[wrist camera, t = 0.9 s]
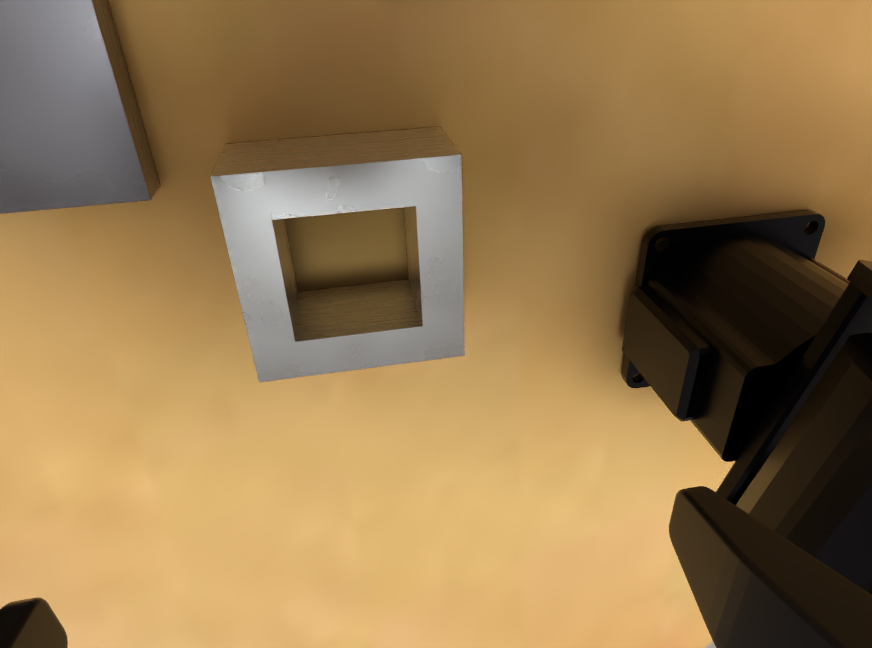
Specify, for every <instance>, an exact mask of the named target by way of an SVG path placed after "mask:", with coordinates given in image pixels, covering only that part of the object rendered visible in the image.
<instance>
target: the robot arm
mask: <svg viewBox="0 0 872 648" xmlns="http://www.w3.org/2000/svg"><path fill="white" fill-rule="evenodd" d="M809 222H810V224H809V226H808V227H807V228H806V229H805V227H806V225H807V224H808V223H809ZM824 227H825V219H824V217H823V216H822V215H820V214H818V213H816V212H814V211H812V210H803V211H794V212H784V213H775V214H766V215H756V216H747V217H737V218H728V219H719V220H709V221H700V222H691V223H681V224H672V225H662V226H656V227H653V228H652V229H650V230H649V231H647V233H646V234H645V235H644V238H643V240H642V246H641V252H640V259H639V265H638V272H637V278H636V285H635V287H634V289H633V290H632V292H631V294H630V300H629V307H628V314H627V320H626V327H625V333H624V340H623V347H622V350H623V352H624V353H625V356H624V362H623V369H622V378H623V379H624V381H625V382H626V383H627V385H628V386H629V387H631V388H641V387H648V386H651V387H652V388H653V390H654V391H655V392H656V393H657V395H658V396H659V397H660V398H661V400H662V401H663V402H664V403H665V405H666V406H667V407H668V409H669V410H670V411H671V412H672V414H673V415H674V416H675V417H676V418H678V419H679V420H680V421H681V422H682V421H688V420H691V422H692V423H693V424H694V425H695V427H696V428H697V429H698V430H699V431H700V433H701V434H702V435H703V436H704V437H705V439H706V440H707V441H708V442H709V444H710V445H711V446H712V447H713V448H714V450H715V451H716V452H717V453H718V455H719V456H720V457H721V458H722V459H723V460H724V461H727V462H730V461H735V463H734V464H733V466H732V467H731V469H730V471H729V472H728V474H727V475H726V477H725V478H724V480H723V482H722V483H721V485H720V486H719V488H718V489H717V491H716V492H714V491H713V490H711V489H709V488H707V487H704V486H699V487H693V488H687V489H682V490H680V491H679V492H678V493H677V494H676V497H675V501H674V506H673V510H672V515H671V519H670V524H669V534H670V538H671V542H672V544H673V547H674V549H675V552H676V554H677V556H678V559H679V561H680V564H681V566H682V568H683V571H684V573H685V576H686V578H687V581H688V583H689V585H690V588H691V590H692V593H693V595H694V597H695V600H696V602H697V605H698V607H699V609H700V612H701V614H702V617H703V619H704V621H705V624H706V626H707V628H708V631H709V633H710V635H711V637H712V640H713V642H714V644H715V646H716V648H872V262H869V261H864V260H859V261H858V262H857V264H856V265H855V267H854V268H853V270H852V272H851V273H850V275H849V276H848V278H847V279H846V278H844V277H842V276H841V275H839V274H837V273H836V272H834V271H832V270H831V269H829V268H827V267H826V266H824V265H822V264H821V263H819V262H817V261H816V260H814V258H815V254H816V251H817V248H818V245H819V242H820V239H821V236H822V233H823V230H824ZM662 237H663V241H662V243H661V244H660V245H659V246H656V247H655V243H656V241H657V240H658V239H660V238H662ZM639 372H640V373H639ZM636 373H639V374H638V375H637V376H635V377H633V376H634V375H635V374H636ZM67 643H68V642H67V635H66V632H65V630H64V628H63V626H62V625H61V623H60V622H59V620H58V619H57V617H56V615H55V614H54V612H53V611H52V609H51V608H50V606H49V604H48V603H47V602H46V600H44V599H42V598H31V599H25V600H19V601H14V602H11V603H8V604H6V605H5V606H4V607H2V608H1V609H0V648H67Z"/></svg>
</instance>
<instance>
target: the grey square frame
mask: <svg viewBox="0 0 872 648" xmlns="http://www.w3.org/2000/svg"><path fill="white" fill-rule="evenodd" d="M210 178H211V182H212V186H213V190H214V194H215V199H216V203H217V207H218V211H219V215H220V220H221V224H222V228H223V232H224V236H225V241H226V245H227V249H228V253H229V258H230V262H231V266H232V270H233V274H234V279H235V283H236V287H237V291H238V295H239V300H240V304H241V308H242V312H243V316H244V321H245V325H246V329H247V333H248V337H249V342H250V346H251V350H252V354H253V358H254V363H255V367H256V371H257V375H258V379H259V382H265V381H273V380H280V379H288V378H296V377H304V376H311V375H319V374H327V373H334V372H342V371H350V370H357V369H365V368H373V367H380V366H388V365H396V364H403V363H411V362H419V361H426V360H434V359H442V358H449V357H457V356H464V289H463V221H462V155H461V153H460V152H459V151H458V150H457V148H456V147H455V146H454V144H453V143H452V142H451V140H450V139H449V138H448V136H447V135H446V134H445V133H444V131H443V130H442V129H441V127H429V128H416V129H404V130H391V131H379V132H366V133H354V134H341V135H329V136H316V137H304V138H291V139H279V140H266V141H254V142H241V143H229V144H226V145H225V147H224V149H223V151H222V153H221V155H220V157H219V159H218V162H217V164H216V166H215V168H214V170H213V172H212V174H211V176H210ZM400 207H404V215H405V230H406V245H407V260H408V274H409V279H408V280H399V281H390V282H381V283H372V284H363V285H354V286H345V287H336V288H327V289H319V290H310V291H301V292H297V286H296V281H295V275H294V269H293V264H292V258H291V253H290V247H289V241H288V236H287V230H286V225H285V219H286V218H297V217H307V216H317V215H328V214H338V213H349V212H359V211H369V210H380V209H390V208H400Z"/></svg>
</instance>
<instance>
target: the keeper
mask: <svg viewBox="0 0 872 648" xmlns="http://www.w3.org/2000/svg"><path fill="white" fill-rule="evenodd" d="M159 187H160V182H159V179H158V175H157V172H156V168H155V165H154V161H153V158H152V154H151V151H150V147H149V144H148V140H147V137H146V133H145V130H144V126H143V123H142V119H141V116H140V112H139V109H138V105H137V102H136V98H135V95H134V91H133V88H132V84H131V81H130V77H129V74H128V70H127V67H126V63H125V59H124V56H123V52H122V49H121V45H120V42H119V38H118V35H117V31H116V28H115V24H114V21H113V17H112V14H111V10H110V7H109V3H108V0H0V214H2V213H13V212H24V211H35V210H46V209H57V208H68V207H79V206H90V205H101V204H112V203H123V202H135V201H146V200H151V199H152V197H153V196H154V194H155V193H156V191H157V190H158V188H159Z"/></svg>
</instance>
